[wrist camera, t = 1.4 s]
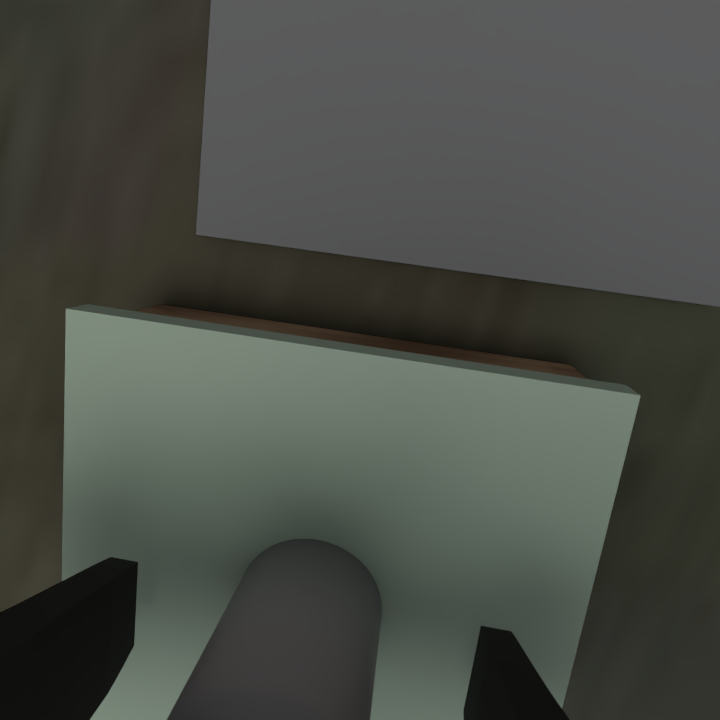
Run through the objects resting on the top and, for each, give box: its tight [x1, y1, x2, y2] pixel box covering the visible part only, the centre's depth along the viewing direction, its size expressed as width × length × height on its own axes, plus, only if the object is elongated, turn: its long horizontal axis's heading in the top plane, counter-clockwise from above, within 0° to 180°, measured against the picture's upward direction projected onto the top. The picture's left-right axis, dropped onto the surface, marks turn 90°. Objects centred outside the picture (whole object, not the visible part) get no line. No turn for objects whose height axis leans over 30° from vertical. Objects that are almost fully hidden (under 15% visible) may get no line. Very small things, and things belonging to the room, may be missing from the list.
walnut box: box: [136, 304, 587, 379], centre depth 15 cm, size 11×11×3 cm
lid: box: [62, 304, 641, 720], centre depth 11 cm, size 12×12×6 cm
